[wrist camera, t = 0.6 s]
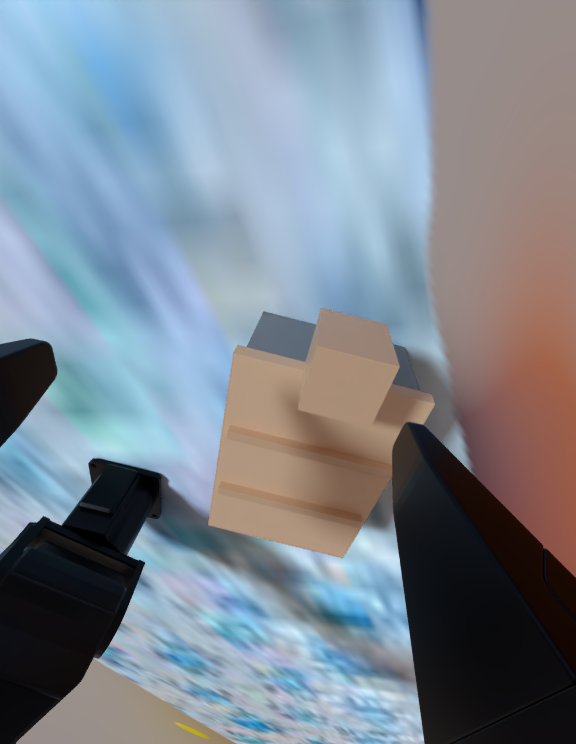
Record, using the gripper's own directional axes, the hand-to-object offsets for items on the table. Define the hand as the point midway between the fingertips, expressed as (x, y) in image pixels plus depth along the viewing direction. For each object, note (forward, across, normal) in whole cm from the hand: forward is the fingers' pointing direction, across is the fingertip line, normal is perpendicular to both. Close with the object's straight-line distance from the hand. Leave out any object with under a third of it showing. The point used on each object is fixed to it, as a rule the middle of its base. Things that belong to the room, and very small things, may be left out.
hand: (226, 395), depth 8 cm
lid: (+7, -3, +9) cm, 12 cm away
